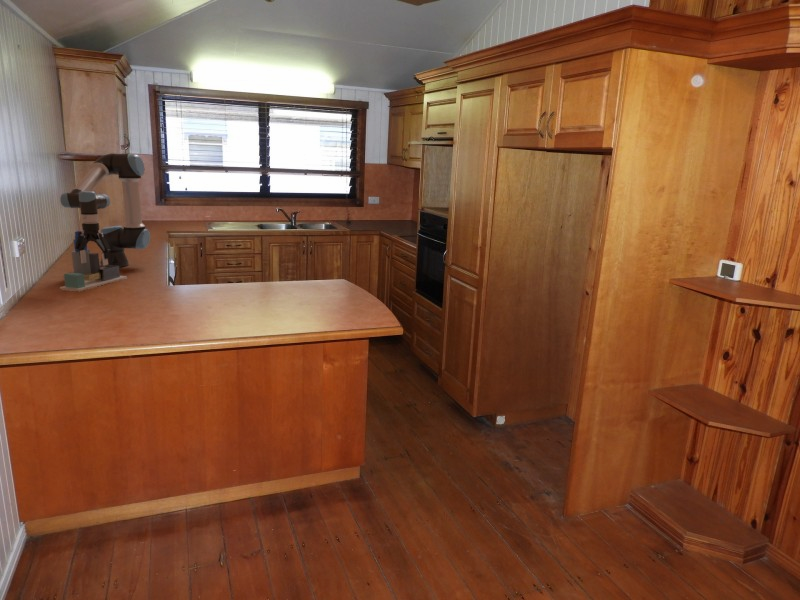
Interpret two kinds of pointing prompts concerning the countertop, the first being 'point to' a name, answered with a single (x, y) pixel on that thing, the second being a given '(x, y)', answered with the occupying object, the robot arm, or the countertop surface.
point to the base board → (94, 284)
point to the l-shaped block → (93, 268)
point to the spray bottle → (77, 265)
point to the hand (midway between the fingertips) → (94, 264)
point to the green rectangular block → (74, 280)
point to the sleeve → (109, 272)
